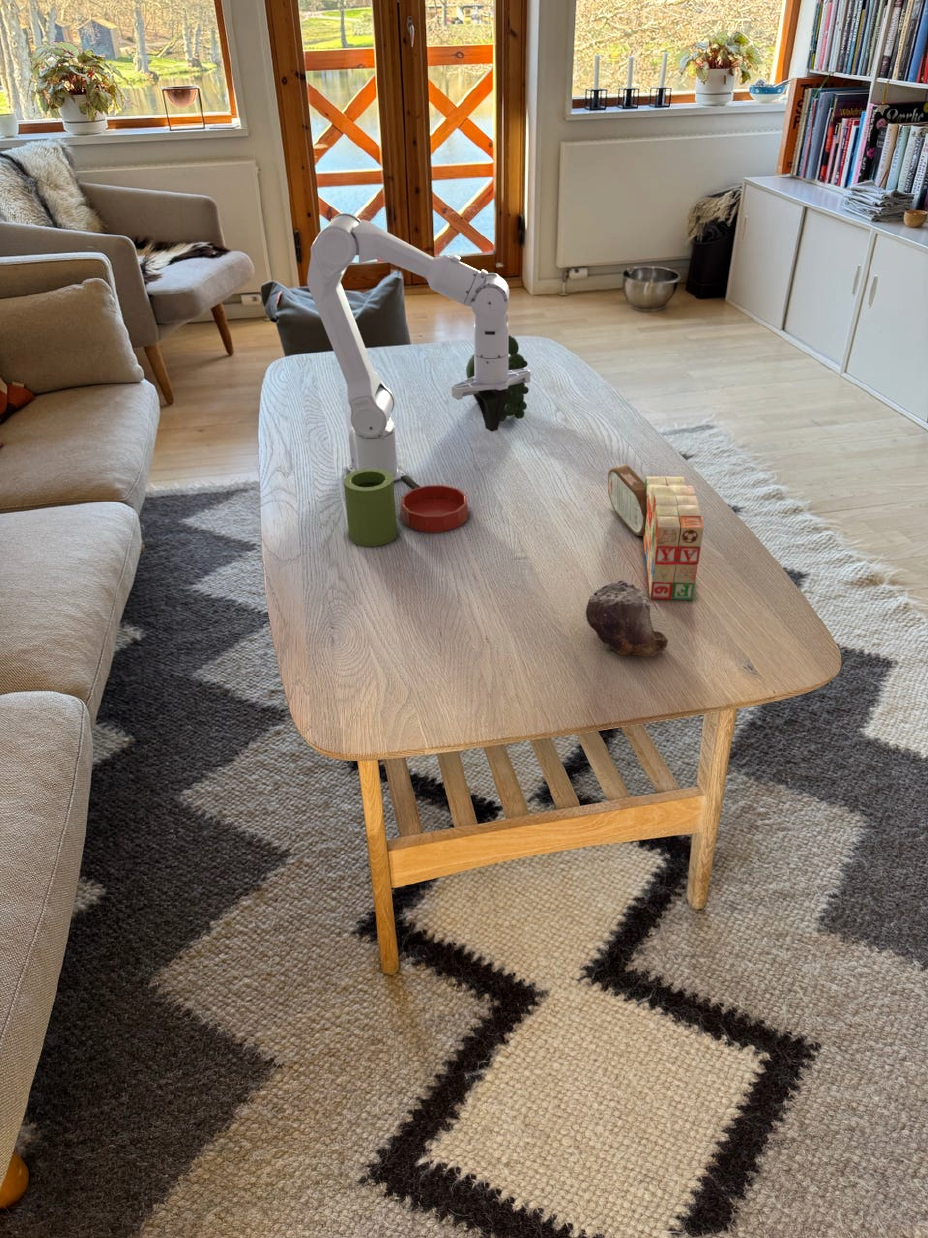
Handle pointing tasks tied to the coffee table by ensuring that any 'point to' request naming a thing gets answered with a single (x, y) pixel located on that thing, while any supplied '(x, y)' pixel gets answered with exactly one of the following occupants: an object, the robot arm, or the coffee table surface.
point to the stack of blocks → (672, 538)
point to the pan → (433, 507)
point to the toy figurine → (516, 401)
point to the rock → (624, 620)
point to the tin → (628, 497)
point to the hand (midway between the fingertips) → (491, 428)
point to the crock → (370, 506)
